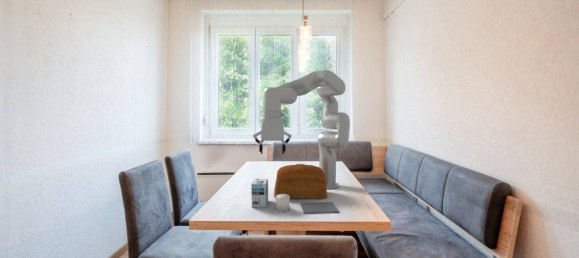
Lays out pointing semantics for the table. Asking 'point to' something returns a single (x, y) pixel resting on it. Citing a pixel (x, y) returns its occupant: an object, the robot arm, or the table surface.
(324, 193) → the bread
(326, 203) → the slate trivet
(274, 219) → the table surface
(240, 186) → the table surface
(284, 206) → the white capsule cylinder
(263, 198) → the light bulb box
